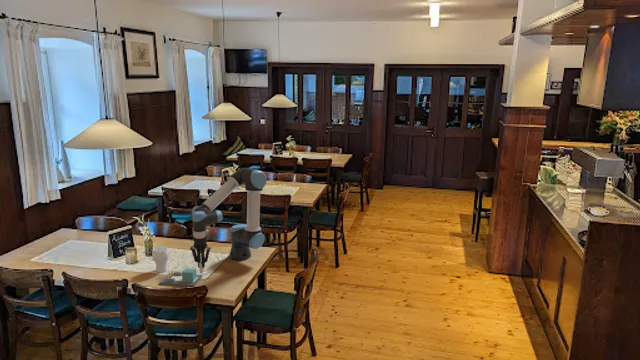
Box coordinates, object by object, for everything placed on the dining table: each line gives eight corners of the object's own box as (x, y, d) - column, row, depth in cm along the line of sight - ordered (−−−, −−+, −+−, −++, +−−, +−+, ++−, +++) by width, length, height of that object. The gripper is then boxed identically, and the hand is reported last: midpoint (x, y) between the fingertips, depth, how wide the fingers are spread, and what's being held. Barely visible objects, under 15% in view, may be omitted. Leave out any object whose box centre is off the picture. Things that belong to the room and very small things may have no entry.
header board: (202, 276, 287) (201, 269, 285) (192, 287, 273) (192, 279, 272) (169, 274, 290) (169, 267, 288) (159, 284, 276) (158, 277, 275)
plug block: (196, 277, 282) (196, 269, 281) (193, 281, 277) (192, 272, 275) (186, 276, 283) (185, 268, 282) (182, 280, 278) (181, 272, 276)
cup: (156, 266, 300) (154, 246, 297) (172, 266, 301) (170, 245, 297) (151, 273, 290) (149, 252, 286) (168, 273, 291) (166, 252, 287)
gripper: (212, 235, 275) (214, 270, 280) (192, 233, 276) (194, 269, 282) (207, 239, 267) (209, 275, 273) (187, 238, 269) (189, 274, 275)
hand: (201, 272), depth 277 cm, fingers closed
